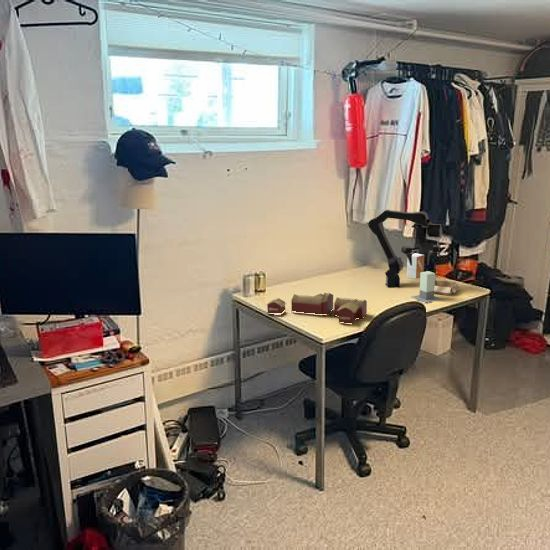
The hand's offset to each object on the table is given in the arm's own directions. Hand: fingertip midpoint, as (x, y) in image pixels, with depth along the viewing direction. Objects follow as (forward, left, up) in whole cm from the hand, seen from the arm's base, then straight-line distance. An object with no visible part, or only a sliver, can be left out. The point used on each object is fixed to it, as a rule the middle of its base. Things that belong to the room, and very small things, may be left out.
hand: (419, 265), depth 285 cm
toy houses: (-60, -32, -14) cm, 70 cm away
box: (-2, -18, -12) cm, 22 cm away
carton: (+10, -8, -13) cm, 18 cm away
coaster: (-2, -18, -13) cm, 22 cm away
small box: (+6, +24, -13) cm, 28 cm away
